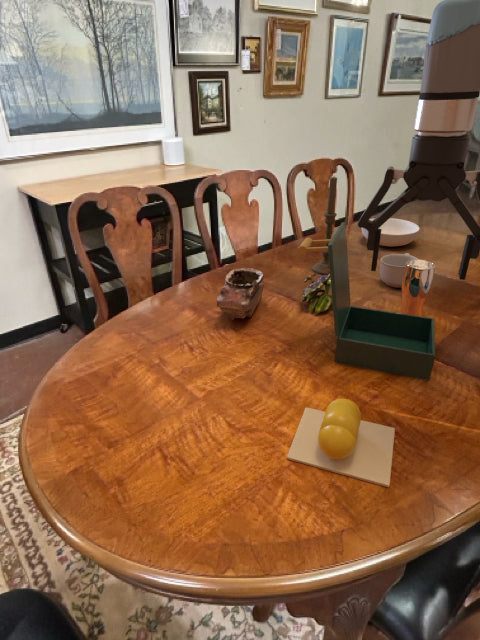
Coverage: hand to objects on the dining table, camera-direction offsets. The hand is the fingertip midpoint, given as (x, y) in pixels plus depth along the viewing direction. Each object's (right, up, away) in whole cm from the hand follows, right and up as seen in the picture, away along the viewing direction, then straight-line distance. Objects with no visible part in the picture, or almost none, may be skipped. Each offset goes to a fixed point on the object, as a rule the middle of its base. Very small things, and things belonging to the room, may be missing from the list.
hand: (416, 272), depth 70 cm
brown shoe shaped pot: (-28, -6, +44) cm, 52 cm away
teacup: (+19, +3, +59) cm, 62 cm away
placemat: (-12, -29, +1) cm, 31 cm away
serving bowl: (+27, +21, +91) cm, 97 cm away
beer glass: (+15, -8, +39) cm, 42 cm away
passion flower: (-7, -4, +46) cm, 47 cm away
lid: (-7, +1, +20) cm, 22 cm away
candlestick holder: (-1, +9, +69) cm, 70 cm away
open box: (+3, -15, +25) cm, 30 cm away
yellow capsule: (-12, -29, +1) cm, 31 cm away
